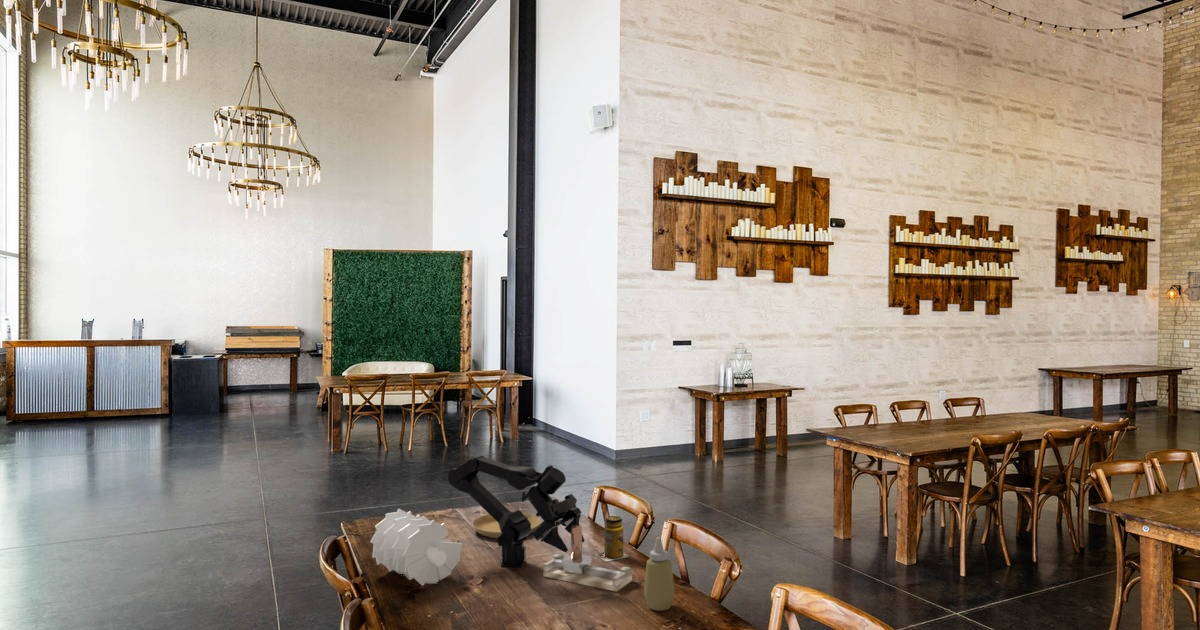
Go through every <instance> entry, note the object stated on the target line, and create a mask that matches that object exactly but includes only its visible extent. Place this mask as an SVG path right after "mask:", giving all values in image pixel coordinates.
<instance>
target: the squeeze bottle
mask: <svg viewBox="0 0 1200 630" xmlns="http://www.w3.org/2000/svg"><path fill="white" fill-rule="evenodd" d="M655 539H656V540H655V543H654V548H653V549H652V550H651V551H649V559H648V560H646V566H645V578H644V589H643V590H644V591H643V595H644V597H645V602H646V603H647V607H648V608H649V609H651V610H654V611H658V612H659V611H661V612H662V611H666V610H669V609H670V608H671V607H672V603H673V601H674V597H675V586H674V575H673V567H672V561H671V560H670V559H669V558H668V557H669V556H668V551H667V550H666V549H664V546H663V542H662V541H663V540H662V538H661V537H656V538H655Z"/></svg>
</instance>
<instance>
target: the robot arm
mask: <svg viewBox="0 0 1200 630" xmlns="http://www.w3.org/2000/svg"><path fill="white" fill-rule="evenodd" d="M479 473H483V474H486V475H489V476H493V477H495V478H498V479H500V480H504V481H506V482H507V483H508V485H509V486H511V487H512V488H514V489H515V490H516V489H517V490H518V491H522V494H521V495H522V496H521V502H522V503H523V502H527V501H529V503H530V504H531V505H532V507H533V508H534V509H535V512H536V513H535V516H537V517H539V518H540V519H542V520H543V521H541V523H540V525H539V526H538V527H537V528H536V529H535V530H534V531H533V532H532V533H533V537H534V539H535V540H536V541H537V542H538V541H540V542H541V543H542V542H543V543H546V544H547V545H551V546H552V547H553V548H556V549H558V550H559V551H561V552H563V553H567V552H568V550H569V549H568V547H567V546H566V543H565V542H564V541H563V539H562V537H561V536H560V534H559V526H562V527H565V528H564V530H565V531H566V532H567V533H569V534H570V535H571V526H573V525H580V518H581V517H582V515H581V514H582V513H583V512H582V511H581V509H580V508H579V507H577V501H578V500H577V498H576V497H575V496H574V495H573V494H572V493H570V494H568V495H565V496H564V500H561V501H559V499H556V498H554V499H553V498H552V497H551V495H554V494H555V493H556V492H557V491H558V490H559V489H560V488H561V486H563V485H564V484H565V482H566V481H567V478H566V475H565V474H564V472H563V471H561V470H559V469H558V468H556V467H554V466H553V465H548V466H547V467H546V468H545V469H544V471H543V472H539V471H536V469H535V468H533V467H531V466H523V465H522V466H513V465H509V464H506V463H503V462H501V461H497V460H494V459H492V458H491V459H490V458H488V457H485V456H484V455H477V456H473V457H471V458H470V459H469V460H467V461H466V462H464V463H463V464H461V465H459V466H458V467H455V468H453V469H450V470H449V472H448V474H447V479H448V480H447V482H448V484H449V485H450V486H451V487H452V488H453V489H455V490H457V491H459V492H462V493H465V494H467V495H469V496H470V497H471V499H473V500H474V501H475V502H476V503H477V504H478V505H479V506H480V507H481V508H482V509H484V511H486V513H487V514H490V515H491V516H492V517H493V518H494V519H495V520H496V521H497V522H498V523H499V527H500V530H501V532H502V534H501V535H500V536H499V537H498V538H496V542H497V544H498V547H501V560H502V561H501V563H500V566H501V567H522V566H523V565H524V563H525V562H526V558H527V557H526V556H527V555H526V546H525V542H526V541H527V540H528V539H529V538H528V537H529V535H531V534H530V532H531V523H530V522H529V520H527V519H528V517H526V516H524V515H523V513H524V512H522V511H521V510H519V509H517V510H515V511H510V510H509V509H508V508H507V506H505V505H504V504H503V502H501V501H499V500H498V498H496V496H494V495H493V494H492V493H491V492H490V491H489V490H488V489H487V488H486V487H485V486H484V485H483V484H482V483H481V482H480V479H479V475H478V474H479ZM528 488H529V489H528ZM526 489H528V490H526ZM523 490H526V491H523ZM584 542H585V538H584V535H583V534H582V544H583V543H584Z"/></svg>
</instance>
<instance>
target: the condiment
mask: <svg viewBox="0 0 1200 630" xmlns="http://www.w3.org/2000/svg"><path fill="white" fill-rule="evenodd" d="M604 524H605V526H604V528H603V536H604V538H603V541H604V543H603V544H604V545H603V547H604V549H603V550H604V552H599V553H595V554H594V555H593V556H595V557H596V558H598V559H600V560H602V561H604V562H606V563H608V562H610V561H615V560H620V559H624V558H629V555H628V554H625V553H624V526H623V519H622V517H621V516H617V515H611V516H610V515H609V516H606V517H605V523H604ZM604 553H605V557H604V558H603V557H601V556H603V555H602V554H604ZM606 557H607V558H608V559H606Z"/></svg>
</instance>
